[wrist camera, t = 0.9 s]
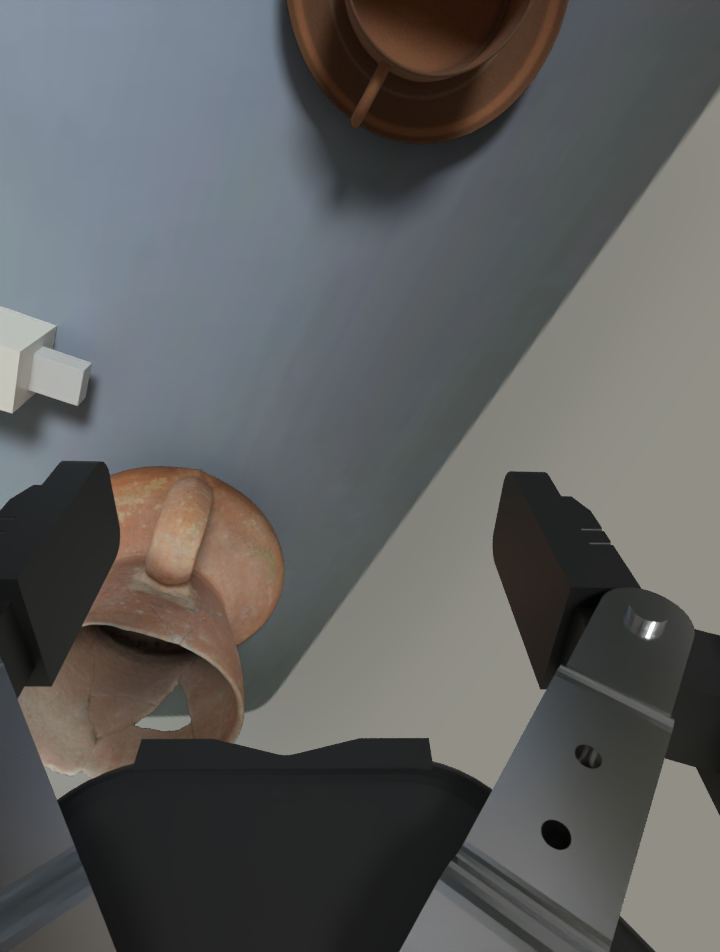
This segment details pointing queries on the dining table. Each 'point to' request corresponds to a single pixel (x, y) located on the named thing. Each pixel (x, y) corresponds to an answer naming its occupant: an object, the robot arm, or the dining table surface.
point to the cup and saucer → (424, 60)
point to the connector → (36, 363)
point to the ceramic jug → (162, 622)
